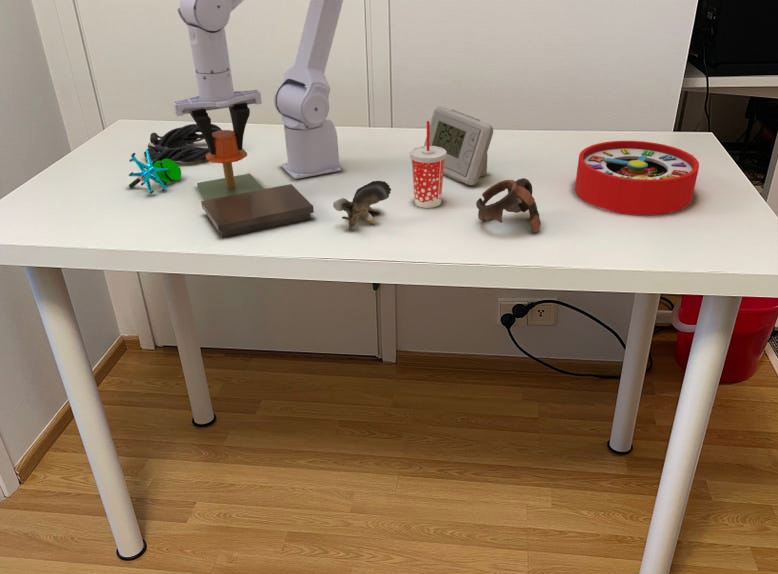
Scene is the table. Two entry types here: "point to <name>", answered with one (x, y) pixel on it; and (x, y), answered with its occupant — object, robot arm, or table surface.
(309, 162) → the robot arm
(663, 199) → the toy clock
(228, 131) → the hat
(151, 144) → the cable
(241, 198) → the stand
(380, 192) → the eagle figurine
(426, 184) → the beverage cup
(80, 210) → the table surface
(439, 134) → the digital clock
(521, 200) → the brown broken ring
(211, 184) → the stand
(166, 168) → the stick construction toy
